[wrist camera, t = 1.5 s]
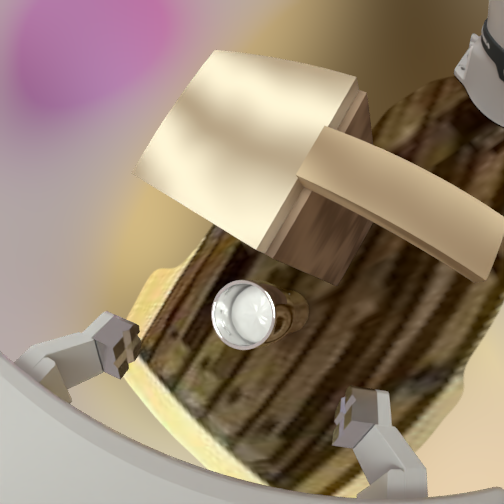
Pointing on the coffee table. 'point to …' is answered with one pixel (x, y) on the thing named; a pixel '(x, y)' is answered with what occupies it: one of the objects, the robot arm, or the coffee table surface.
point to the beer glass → (257, 313)
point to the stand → (325, 219)
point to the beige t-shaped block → (302, 162)
